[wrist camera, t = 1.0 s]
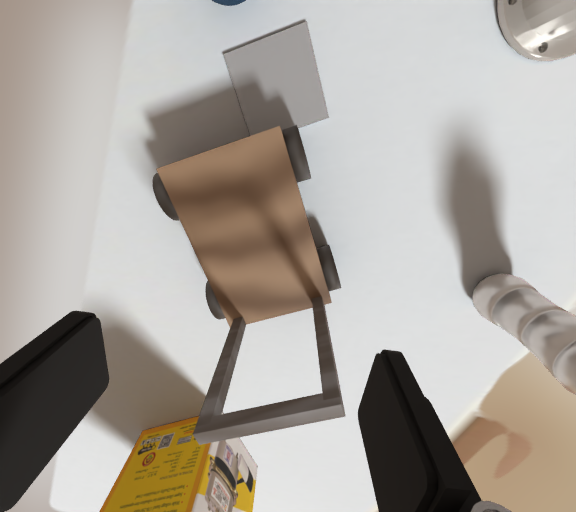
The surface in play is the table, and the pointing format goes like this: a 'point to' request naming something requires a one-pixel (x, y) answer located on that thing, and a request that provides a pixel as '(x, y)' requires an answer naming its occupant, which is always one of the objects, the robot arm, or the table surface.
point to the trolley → (254, 264)
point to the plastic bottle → (531, 323)
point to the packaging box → (184, 474)
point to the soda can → (228, 2)
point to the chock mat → (278, 81)
